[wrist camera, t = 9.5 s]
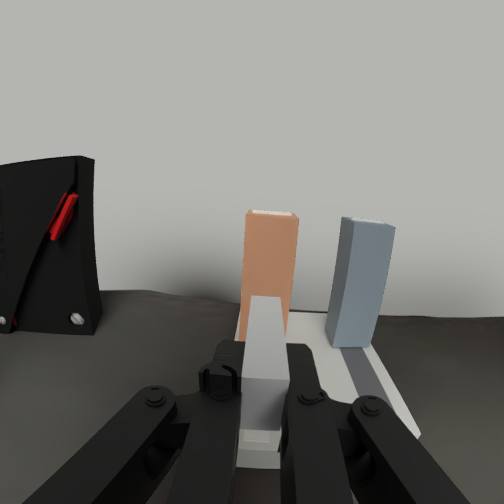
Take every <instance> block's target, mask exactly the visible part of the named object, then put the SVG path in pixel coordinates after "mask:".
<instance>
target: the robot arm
mask: <svg viewBox="0 0 504 504" xmlns="http://www.w3.org/2000/svg"><path fill="white" fill-rule="evenodd" d="M313 358H314V357H313V354H312V350H311V349H310V348H309V347H308V346H307V345H306V344H303V343H286V341H285V332H284V324H283V316H282V307H281V299H280V297H268V296H252V295H251V303H250V312H249V320H248V328H247V336H246V342H245V341H232V340H223V341H222V342H221V343H220V344H219V345H217V348H216V351H215V355H214V358H213V362H212V363H210V364H207V365H205V366H204V367H202V368H201V369H200V371H199V372H198V373H199V387H200V391H198V392H196V393H194V394H189V395H180V396H175V395H174V393H173V392H172V391H171V390H169V389H168V388H166V387H162V386H149V387H145V388H143V389H142V390H140V391H139V392H138V393H137V394H136V395H135V396H134V397H133V398H132V399H131V400H130V401H129V402H128V403H127V404H126V405H125V406H124V407H123V408H122V409H121V410H120V411H119V412H118V413H117V414H116V415H114V416H113V417H112V418H111V419H110V420H109V421H108V422H107V423H106V424H105V425H104V426H103V427H102V428H101V429H100V430H99V431H98V432H97V433H96V434H95V435H94V436H93V437H92V438H91V439H90V440H89V441H88V442H87V443H86V444H85V445H84V446H83V447H82V448H81V449H80V450H79V451H78V452H77V453H76V454H74V455H73V456H72V457H71V458H70V459H69V460H68V461H67V462H66V463H65V464H64V465H63V466H62V467H61V468H60V469H59V470H58V471H57V472H56V473H54V474H53V475H52V476H51V477H50V478H49V479H48V480H47V481H46V482H45V483H44V484H43V485H42V486H41V487H39V488H38V489H37V490H36V491H35V492H34V493H33V494H32V495H31V496H30V497H29V498H28V499H26V500H25V501H24V502H23V503H22V504H146V502H147V501H148V500H149V498H150V497H151V495H152V494H153V493H154V491H155V490H156V488H157V487H158V486H159V484H160V483H161V481H162V480H163V478H164V477H165V476H166V474H167V473H168V471H169V470H170V468H171V467H172V465H173V464H174V462H175V461H176V459H177V458H178V456H179V455H180V453H181V452H182V453H181V456H180V460H179V463H178V467H177V470H176V474H175V477H174V481H173V484H172V488H171V491H170V495H169V498H168V502H167V504H232V500H233V491H234V482H235V472H236V463H237V454H238V445H239V431H240V429H247V430H266V431H280V428H281V438H280V442H279V447H278V451H277V453H280V481H281V504H353V499H352V494H351V490H352V492H353V493H354V495H355V497H356V499H357V501H358V503H359V504H470V503H469V501H468V500H467V499H466V498H465V497H464V495H463V494H462V493H461V492H460V490H459V489H458V488H457V487H456V486H455V484H454V483H453V482H452V481H451V479H450V478H449V477H448V476H447V475H446V473H445V472H444V471H443V470H442V469H441V467H440V466H439V465H438V464H437V462H436V461H435V460H434V459H433V458H432V456H431V455H430V454H429V453H428V452H427V450H426V449H425V448H424V447H423V446H422V444H421V443H420V442H419V441H418V440H417V438H416V437H415V436H414V435H413V433H412V432H411V431H410V430H409V429H408V427H407V426H406V425H405V424H404V423H403V421H402V420H401V419H400V418H399V417H398V415H397V414H396V413H395V412H394V411H393V410H392V408H391V407H390V406H389V405H388V404H387V402H385V401H384V400H383V399H382V398H379V397H377V396H372V395H364V396H360V397H358V398H356V399H355V401H354V402H353V403H352V404H351V403H345V402H339V401H336V400H333V399H331V398H329V396H328V394H327V392H326V391H324V390H323V389H322V388H321V386H320V382H319V378H318V374H317V369H316V365H315V361H314V359H313ZM350 488H351V489H350Z"/></svg>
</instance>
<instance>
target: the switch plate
mask: <svg viewBox="0 0 504 504" xmlns="http://www.w3.org/2000/svg"><path fill="white" fill-rule="evenodd" d="M326 319H327V313H302V312H289V314H288V322H287V329H286V336H285V341H286V343H303V344H306V345H307V346H308V347H309V348H310V349H311V350H312V354H313V357H314V358H313V359H314V361H315V365H316V369H317V374H318V378H319V382H320V386H321V388H322V389H323V390H324V391H326V392H327V394H328V396H329V398H331V399H333V400H336V401H339V402H345V403H351V404H352V403H353V402H354V401H355V399H356V398H358V397H360V396H364V395H372V396H377V397H379V398H382V399H383V400H384V401H385V402H387V404H388V405H389V406H390V407H391V408H392V410H393V411H394V412H395V413H396V414H397V415H398V417H399V418H400V419H401V420H402V421H403V423H404V424H405V425H406V426H407V427H408V429H409V430H410V431H411V432H412V433H413V435H414V436H415V437H416V438H417V439H418V438H419V436H420V435H421V433H420V431H419V429H418V427H417V425H416V423H415V421H414V419H413V417H412V416H411V414H410V412H409V410H408V408H407V406H406V404H405V403H404V401H403V399H402V397H401V395H400V393H399V392H398V390H397V388H396V386H395V385H394V383H393V381H392V379H391V378H390V376H389V374H388V372H387V371H386V369H385V367H384V365H383V364H382V362H381V360H380V359H379V357H378V355H377V353H376V352H375V350H374V348H373V347H372V345H371V343H370V346H369V347H332V345H331V343H330V340H329V337H328V335H327V332H326V330H325V324H326ZM239 327H240V314H239V319H238V324H237V330H236V335H235V340H234V341H239ZM280 438H281V428H280V431H266V430H247V429H240V431H239V445H238V454H237V463H236V467H244V468H261V469H280V453H277V451H278V447H279V442H280Z"/></svg>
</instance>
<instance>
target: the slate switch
mask: <svg viewBox="0 0 504 504" xmlns="http://www.w3.org/2000/svg"><path fill="white" fill-rule="evenodd" d="M394 234H395V227H393V226H391V225H388V224H385V223H384V222H383V221H378V220H370V219H362V218H353V217H351V218H348V217H342V221H341V228H340V236H339V244H338V252H337V259H336V266H335V273H334V279H333V285H332V291H331V297H330V303H329V308H328V313H327V319H326V324H325V330H326V332H327V335H328V337H329V340H330V343H331V345H332V347H369V346H370V343H371V340H372V336H373V333H374V329H375V325H376V322H377V318H378V314H379V310H380V306H381V302H382V297H383V293H384V289H385V284H386V279H387V275H388V269H389V263H390V259H391V253H392V247H393V240H394Z"/></svg>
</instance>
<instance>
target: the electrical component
mask: <svg viewBox="0 0 504 504" xmlns="http://www.w3.org/2000/svg"><path fill="white" fill-rule="evenodd" d="M94 162H95V160H94V159H91V158H87V157H84V156H67V157H56V158H46V159H38V160H30V161H23V162H17V163H10V164H4V165H0V333H10V331H11V330H18V331H28V332H39V333H52V334H69V335H94V333H95V330H96V328H97V325H98V322H99V320H100V317H101V315H102V307H101V300H100V293H99V285H98V278H97V267H96V257H95V242H94V217H93V188H94Z"/></svg>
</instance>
